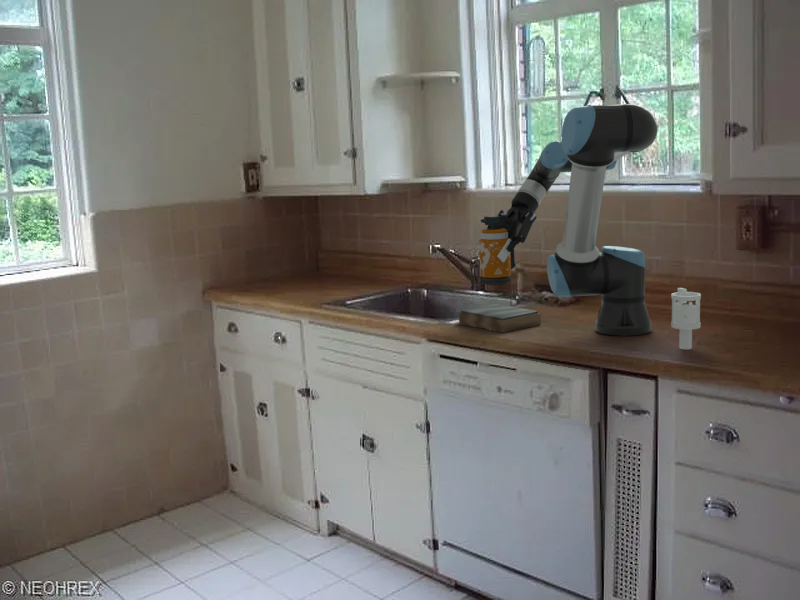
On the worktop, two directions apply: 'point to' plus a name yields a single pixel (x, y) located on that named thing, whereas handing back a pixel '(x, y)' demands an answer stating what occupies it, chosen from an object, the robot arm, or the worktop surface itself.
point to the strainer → (685, 316)
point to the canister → (495, 250)
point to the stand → (500, 317)
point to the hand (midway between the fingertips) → (489, 258)
